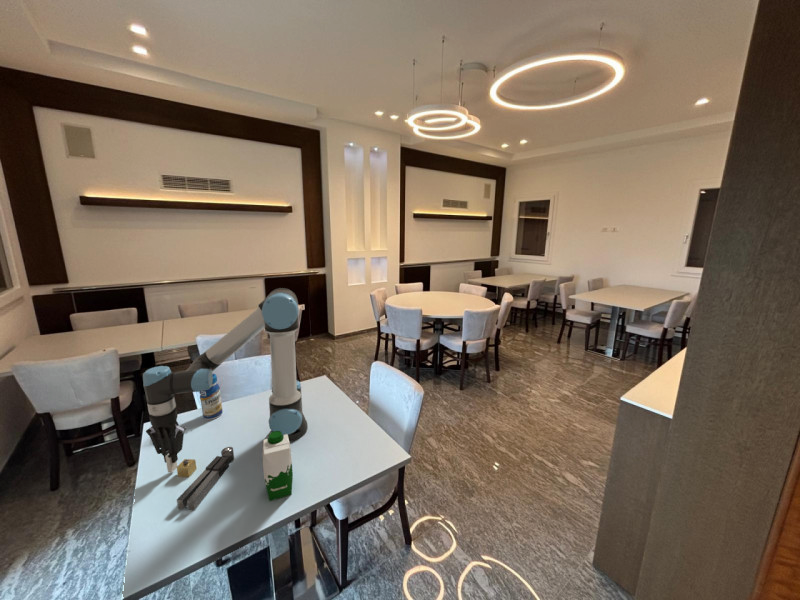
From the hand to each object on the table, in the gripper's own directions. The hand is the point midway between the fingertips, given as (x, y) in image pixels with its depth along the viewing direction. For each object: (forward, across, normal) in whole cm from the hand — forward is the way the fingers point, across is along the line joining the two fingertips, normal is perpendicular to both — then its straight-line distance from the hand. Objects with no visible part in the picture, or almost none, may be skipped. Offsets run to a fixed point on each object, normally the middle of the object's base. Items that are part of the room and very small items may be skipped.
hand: (172, 469), depth 113 cm
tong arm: (+1, +15, -5) cm, 16 cm away
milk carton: (+2, +42, -6) cm, 42 cm away
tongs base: (+1, +16, -3) cm, 17 cm away
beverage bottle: (+2, -8, +36) cm, 37 cm away
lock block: (+1, +5, 0) cm, 5 cm away
